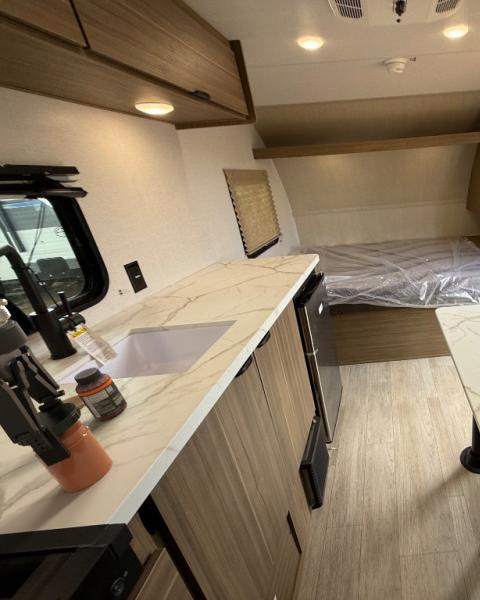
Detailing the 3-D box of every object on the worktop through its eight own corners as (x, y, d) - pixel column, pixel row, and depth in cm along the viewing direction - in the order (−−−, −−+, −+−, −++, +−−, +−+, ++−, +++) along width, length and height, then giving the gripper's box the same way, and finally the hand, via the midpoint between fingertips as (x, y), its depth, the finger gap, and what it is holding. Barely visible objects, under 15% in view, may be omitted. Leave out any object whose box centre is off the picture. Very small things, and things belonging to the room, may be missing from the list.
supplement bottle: (100, 409, 74) (74, 370, 70) (130, 399, 77) (107, 360, 72) (91, 426, 70) (62, 385, 65) (124, 414, 72) (98, 374, 67)
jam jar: (53, 493, 55) (17, 452, 51) (90, 458, 61) (60, 419, 57) (88, 492, 54) (54, 450, 50) (121, 457, 60) (94, 418, 56)
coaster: (34, 422, 73) (32, 419, 73) (69, 397, 80) (67, 395, 80) (65, 420, 72) (63, 417, 72) (97, 396, 80) (95, 393, 79)
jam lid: (63, 437, 50) (57, 429, 49) (4, 453, 49) (-4, 444, 48) (91, 405, 57) (86, 397, 56) (40, 417, 55) (34, 410, 55)
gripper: (-15, 347, 39) (83, 472, 49) (32, 301, 55) (100, 402, 64) (-113, 374, 35) (15, 504, 45) (-32, 316, 51) (50, 422, 60)
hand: (65, 444), depth 54 cm, fingers closed on jam lid, 8 cm apart
